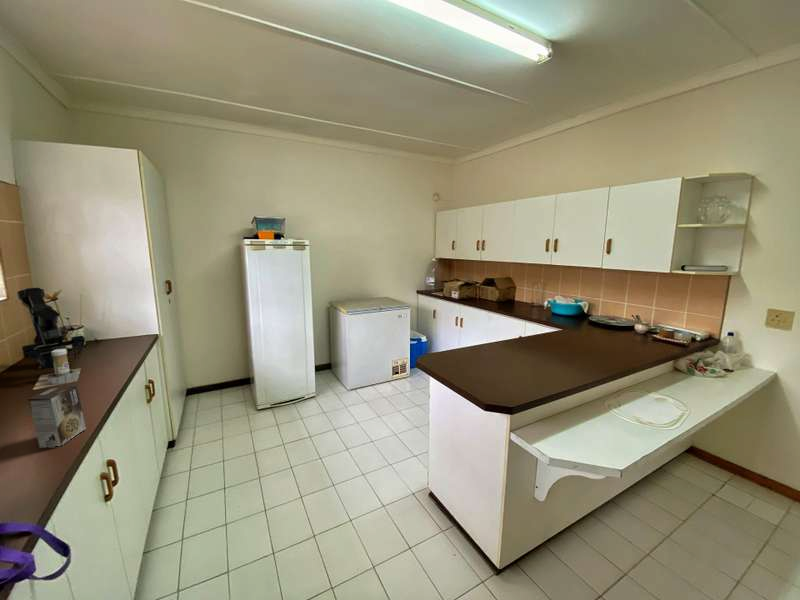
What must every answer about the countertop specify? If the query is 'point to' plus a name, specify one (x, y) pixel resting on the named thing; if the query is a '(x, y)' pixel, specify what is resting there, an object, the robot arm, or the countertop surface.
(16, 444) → the countertop surface
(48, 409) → the coffee box
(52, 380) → the steel collar
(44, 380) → the birch board
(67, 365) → the sprinkles bottle
